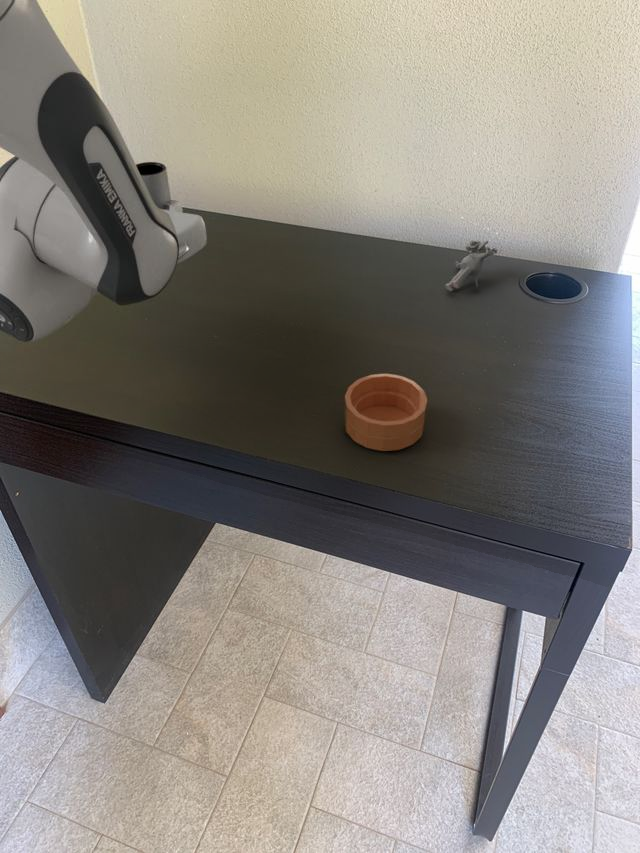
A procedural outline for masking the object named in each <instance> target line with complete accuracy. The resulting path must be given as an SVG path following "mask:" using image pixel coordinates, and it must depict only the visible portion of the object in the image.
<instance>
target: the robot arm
mask: <svg viewBox="0 0 640 853" xmlns="http://www.w3.org/2000/svg"><path fill="white" fill-rule="evenodd" d="M0 148H1V149H2V150H4V151H6V152H8V153H9V154H11V155H13V157H12V158H10V159H9V160H7V161H5V163H3V164H2V165H1V166H0V332H1V333H3V334H5V335H6V336H8V337H10V338H13V339H15V340H17V341H21V342H22V343H23V342H24V343H30V342H35V341H36V342H37V341H39V340H42V339H44V338H46V337H48V336H49V335H51V334H53V333H55V332H56V331H58V330H59V329H61V328H62V327H64V326H66V325H67V324H68V323H69V322H71V321H72V320H73V319H75V318H76V317H78V316H79V315H80V314H81V313H82V312H83V311H84V310H86V308H87V307H88V306H89V304H90V302H91V300H92V299H93V298H96V297H99V296H103V297H105V298H107V299H108V300H110V301H112V302H114V303H115V304H116V305H118V306H121V307H122V306H129V305H134V304H138V303H142V302H146V301H148V300H151V299H153V298H154V297H157V296H158V295H159V294H160V293H161V292H163V290H164V289H165V288H166V287H167V285H168V284H169V282H170V281H171V279H172V277H173V275H174V273H175V270H176V269H177V268H176V267H177V264H181V263H182V262H185V261H186V260H187V259H189V258H191V257H192V256H194V255H195V254H197V253H198V252H200V251H201V250H202V249H204V247H205V246H206V245H207V242H208V241H207V240H208V238H207V237H208V236H207V228H206V224H205V221H204V218H203V217H202V216H201V215H200V214H194V213H187V212H183V203H182V201H180V200H174V199H171V200H169V202H166V203H165V204H164V206H165V210H164V209H159V208H158V207H157V206H156V205H155V203H154V202H153V200H152V198H151V196H150V194H149V192H148V190H147V188H146V185H145V183H144V181H143V179H142V177H141V175H140V173H139V171H138V169H137V167H136V162H135V160H134V159H133V156H132V154H131V152H130V150H129V148H128V146H127V143H126V142H125V139H124V137H123V135H122V133H121V131H120V128H118V126H117V123H116V121H115V120H114V118H113V116H112V114H111V112H110V111H109V109H108V108H107V106H106V105H105V103H104V101H103V100H102V98H101V97H100V96H99V94H98V93H97V91H96V90H95V88H94V87H93V85H92V84H91V83H90V81H89V80H88V78H86V77H85V76H84V74H83V72H82V71H81V69H80V68H79V66H78V65H77V63H76V62H75V61H74V59H73V57H72V56H71V55H70V54H69V52H68V51H67V49H66V47H65V46H64V44H63V43H62V41H61V40H60V38H59V36H58V35H57V33H56V31H55V30H54V28H53V27H52V25H51V23H50V21H49V20H48V18H47V16H46V14H45V13H44V11H43V9H42V8H41V5H40V4H39V2H38V0H0Z"/></svg>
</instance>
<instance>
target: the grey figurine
mask: <svg viewBox="0 0 640 853" xmlns="http://www.w3.org/2000/svg"><path fill="white" fill-rule="evenodd" d="M487 244H489V241H488V240H483V241H482V242H481V241H479V240H477V241H476V240H468V242H467V244H466V242H463V247H464V249H465V251H468V253H469V255H467V256H465V257H464V258H463V259H462V260H461V262H458V261H455V267H456V268H457V269H460V270H459V271H458V272H457V274H456V275H455V276H453V277H452V279H451V280H450V282H448V283H446V284H445V285H444V287H445V288H446V290H448V291H449V292H451V293H452V292H453V291H454V290H455V289H459V290H460V288H461V287H462V285H463V284H464V282H465V280H466V279H467V278H469V277H472V278H474V282H475V286H476V288H478V280H479V273H480V271H481V269H482V267H483V264H484V260H485V259H486V258H487V257H490V256H493V255H495V254H497V253H498V249H497V248H495V247H494V248H490V247H489V246H486V245H487Z"/></svg>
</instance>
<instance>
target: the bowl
mask: <svg viewBox="0 0 640 853" xmlns="http://www.w3.org/2000/svg"><path fill="white" fill-rule="evenodd" d="M427 409H428V398H427V394H426V392H425V389H423V388H422V387H421V386H420V385H419V384H418V383H417V382H415V381H414V380H412V379H410V378H407V377H405V376H403V375H399V374H392V373H375V374H369V375H366V376H364V377H361V378H358V379H356V380H355V381H354V382H353V383H352V384H351V385H349V386H348V388H347V390H346V392H345V395H344V412H343V413H344V415H343V416H344V418H343V419H344V420H343V424H344V427H345V432H346V433H347V435H348V436H349V437H350V438H351V439H352V440H353V441H354V442H355V443H356V444H358V445H361V446H362V447H364V448H367V449H370V450H374V451H380V452H391V451H399V450H402V449H406V448H408V447H410V446H413V445H414V444H415V443H416V442H417V441H418V440H419V439H420V438H421V437H422V436H423V434H424V430H425V426H426V419H427V418H426V417H427Z"/></svg>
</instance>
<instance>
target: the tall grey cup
mask: <svg viewBox="0 0 640 853" xmlns="http://www.w3.org/2000/svg"><path fill="white" fill-rule="evenodd" d="M135 164H136V163H135ZM136 167H137V169H138V171H139V173H140V175H141V177H142V179H143V181H144V183H145V185H146V188H147V190H148V192H149V194H150V196H151V198H152V200H153V202H154V203H155V205H156V206H157V207H158V208H159V209H164V210H165V206H164V204H165V203H166V202H169V200H172V197H171V190H170V184H169V178H168V176H169V175H168V169H167V167H166V165H165V164H163V163H161V162H156V161H145V162H140V163H137V164H136Z"/></svg>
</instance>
